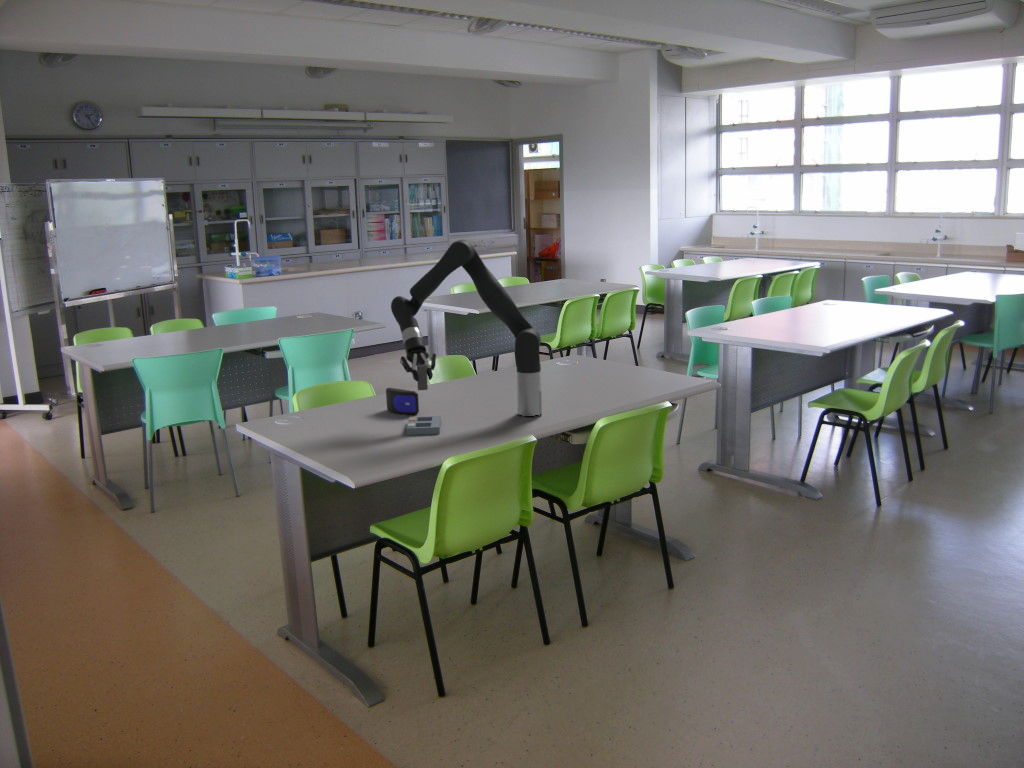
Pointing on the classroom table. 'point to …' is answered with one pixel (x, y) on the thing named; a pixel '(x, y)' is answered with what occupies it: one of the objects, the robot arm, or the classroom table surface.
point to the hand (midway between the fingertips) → (423, 379)
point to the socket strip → (423, 425)
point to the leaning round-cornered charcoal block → (402, 401)
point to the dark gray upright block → (422, 377)
